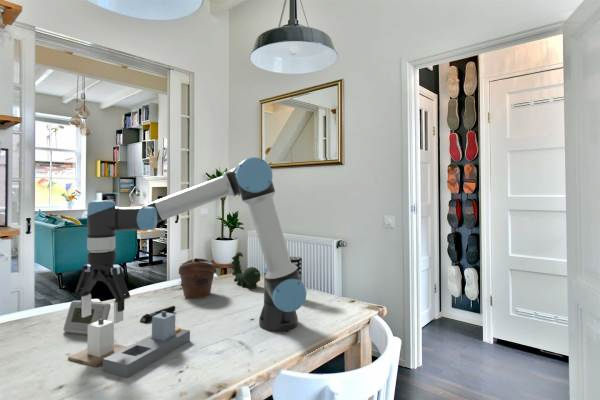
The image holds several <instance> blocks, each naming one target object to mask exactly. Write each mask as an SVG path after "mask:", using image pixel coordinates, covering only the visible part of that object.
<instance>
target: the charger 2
mask: <svg viewBox="0 0 600 400" xmlns="http://www.w3.org/2000/svg"><path fill="white" fill-rule="evenodd" d="M175 327H176V313H174V312H172V313H167V312H166V311H162V313H160V314H157V315H155V316H153V317H152V320H151V335H152V339H154V340H159V341H166V340H168V339H170V338H172V337H174V336H175Z"/></svg>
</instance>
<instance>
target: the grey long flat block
mask: <svg viewBox="0 0 600 400" xmlns="http://www.w3.org/2000/svg"><path fill="white" fill-rule="evenodd" d="M190 341H191V330H190V329H184V328H181V327H177V326H175V336H174V337H172V338H170V339H168V340H166V341H159V340H154V339H152V334H150V335H149V336H147V337H145V338H143V339H141V340H139V341H136V342H135V343H132V344H130V345H128V346H127V347H126V348H124V349H122V350H120V351H118V352H116V353H114V354H112V355H110V356H108V357H106V358H104V359H103V365H102V372H104V373H108V374H113V375H115V376H119V377H123V378H126V379H128V378H130V377H131V376H133V375H134V374H136V373H137V372H140V371H141V370H143V369H144V368H146V367H148V366H150V365H151V364H153V363H155V362H156V361H158V360H160V359H161V358H163V357H165V356H166V355H168V354H170V353H172V352H173V351H175V350H177V349H179V347H181V346H183V345H185V344H187V343H188V342H190Z"/></svg>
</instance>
